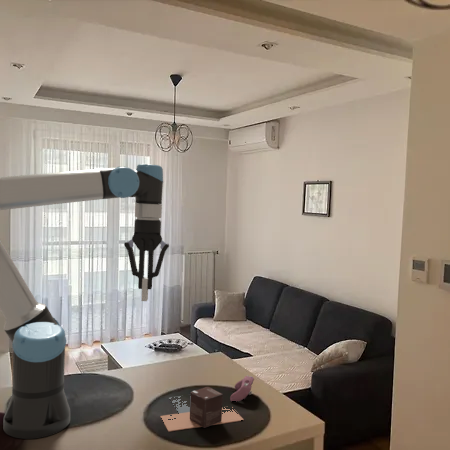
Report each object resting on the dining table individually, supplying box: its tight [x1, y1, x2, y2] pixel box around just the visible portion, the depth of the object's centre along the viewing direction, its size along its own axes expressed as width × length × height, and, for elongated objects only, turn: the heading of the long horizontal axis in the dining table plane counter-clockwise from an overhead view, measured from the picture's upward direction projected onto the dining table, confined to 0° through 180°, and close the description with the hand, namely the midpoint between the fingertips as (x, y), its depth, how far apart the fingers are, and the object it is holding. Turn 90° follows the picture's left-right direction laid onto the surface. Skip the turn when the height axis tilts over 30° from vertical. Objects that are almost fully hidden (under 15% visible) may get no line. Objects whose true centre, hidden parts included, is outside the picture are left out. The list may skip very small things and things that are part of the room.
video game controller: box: [229, 374, 255, 403], centre depth 135 cm, size 10×5×7 cm, turn 170°
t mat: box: [159, 395, 244, 433], centre depth 125 cm, size 18×20×1 cm
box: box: [189, 386, 223, 429], centre depth 118 cm, size 6×6×7 cm
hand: (144, 300), depth 135 cm, fingers closed
